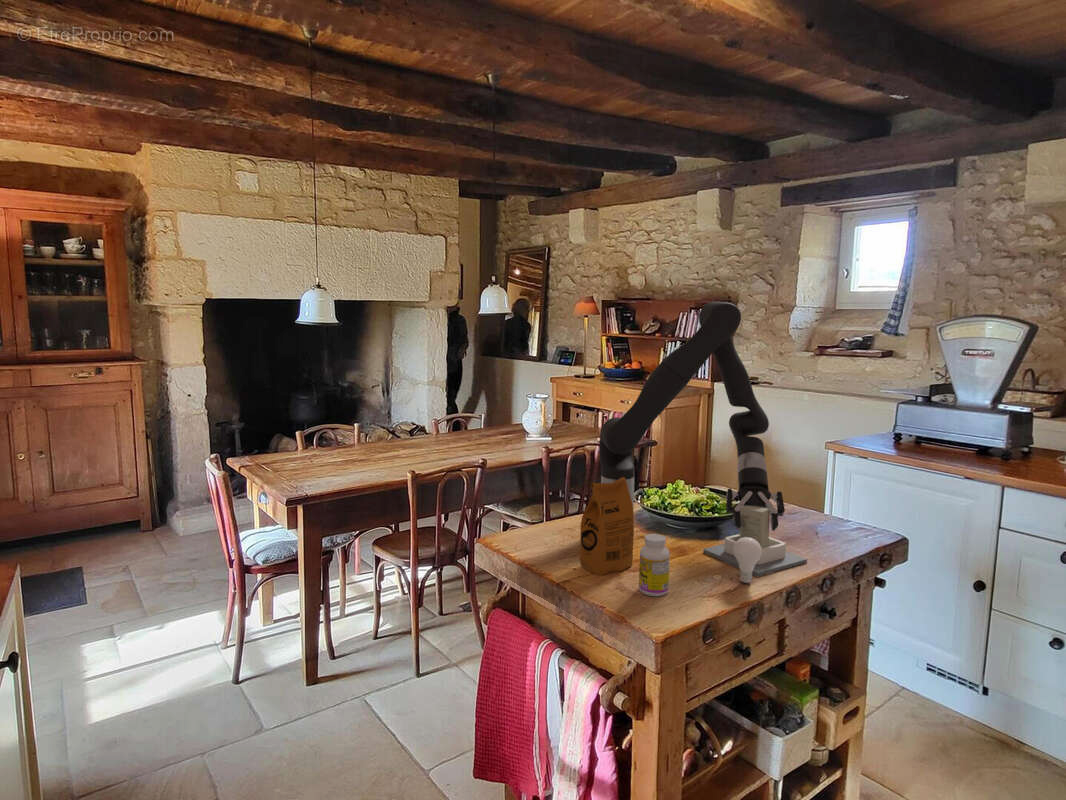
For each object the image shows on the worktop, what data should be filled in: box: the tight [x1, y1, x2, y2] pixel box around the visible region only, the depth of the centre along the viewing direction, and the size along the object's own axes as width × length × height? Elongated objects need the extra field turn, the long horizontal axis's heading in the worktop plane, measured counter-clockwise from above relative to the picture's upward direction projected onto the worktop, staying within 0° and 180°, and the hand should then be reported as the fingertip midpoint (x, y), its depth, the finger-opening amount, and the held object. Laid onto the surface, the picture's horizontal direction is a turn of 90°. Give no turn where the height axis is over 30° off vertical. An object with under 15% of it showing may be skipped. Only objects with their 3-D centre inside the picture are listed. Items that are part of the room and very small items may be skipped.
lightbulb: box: [733, 537, 762, 584], centre depth 153 cm, size 6×6×11 cm
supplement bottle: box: [638, 533, 671, 597], centre depth 148 cm, size 7×7×13 cm
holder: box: [703, 533, 808, 577], centre depth 169 cm, size 18×18×4 cm
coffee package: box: [579, 477, 635, 576], centre depth 162 cm, size 10×12×22 cm
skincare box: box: [739, 505, 770, 549], centre depth 169 cm, size 6×4×12 cm
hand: (756, 528), depth 167 cm, fingers open, 8 cm apart
